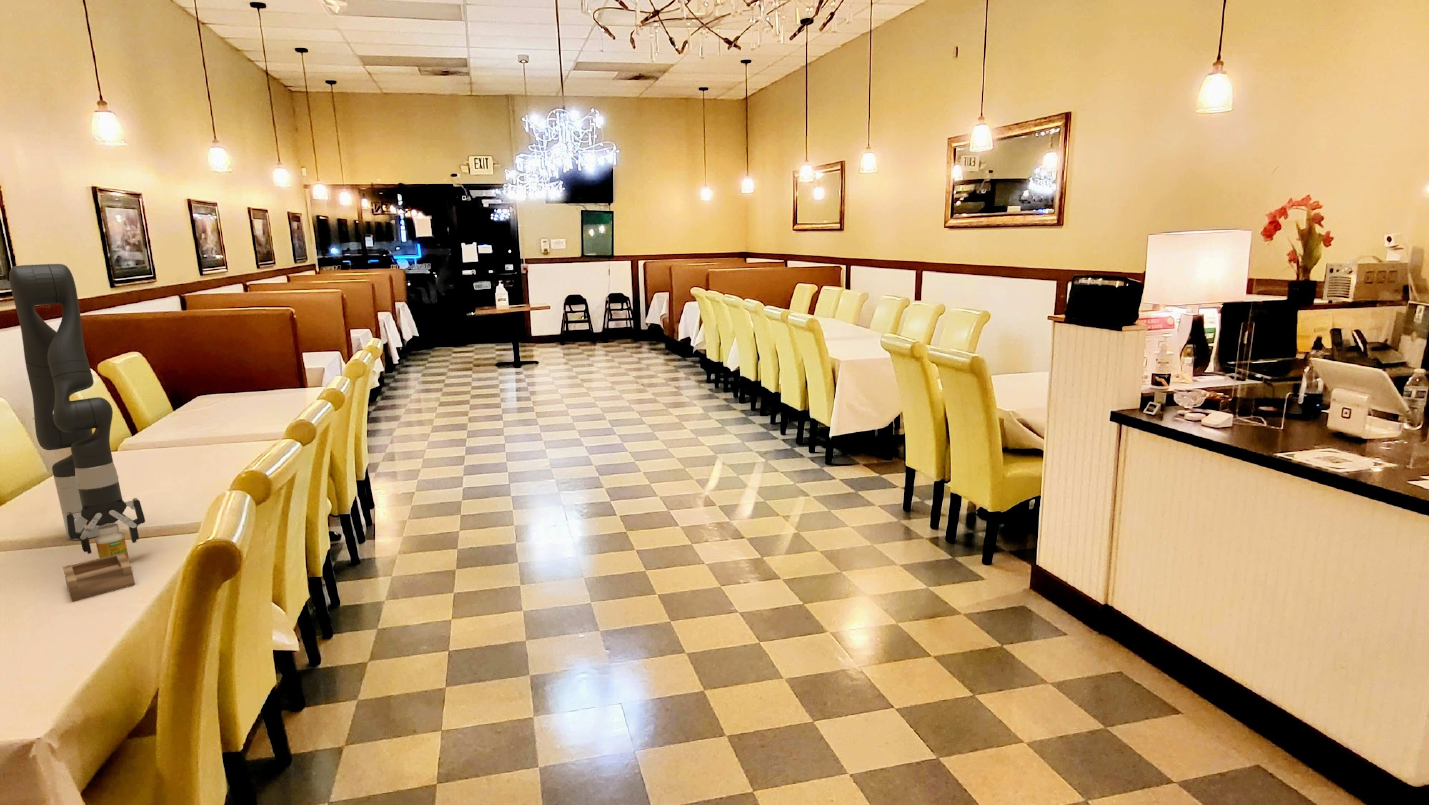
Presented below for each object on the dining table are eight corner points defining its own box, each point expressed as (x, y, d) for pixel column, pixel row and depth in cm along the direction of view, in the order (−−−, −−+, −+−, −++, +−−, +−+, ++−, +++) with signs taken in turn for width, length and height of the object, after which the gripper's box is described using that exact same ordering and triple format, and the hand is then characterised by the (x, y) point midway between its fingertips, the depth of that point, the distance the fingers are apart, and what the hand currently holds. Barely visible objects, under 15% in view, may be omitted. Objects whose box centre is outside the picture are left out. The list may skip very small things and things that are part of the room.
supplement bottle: (114, 569, 179) (105, 531, 177) (95, 568, 180) (87, 530, 178) (135, 560, 184) (127, 522, 182) (117, 558, 185) (109, 521, 183)
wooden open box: (67, 585, 171) (62, 567, 170) (127, 570, 179) (123, 552, 178) (72, 601, 164) (67, 582, 163) (134, 584, 171) (131, 566, 170)
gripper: (133, 472, 185) (145, 534, 189) (57, 486, 176) (72, 552, 179) (138, 478, 180) (151, 542, 183) (60, 494, 170) (75, 561, 174)
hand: (111, 547), depth 181 cm, fingers open, 8 cm apart
